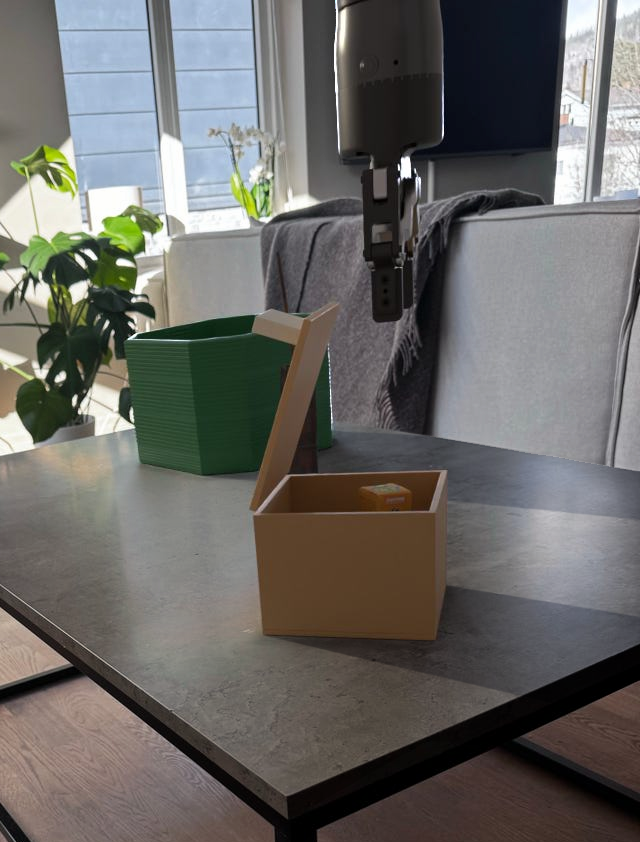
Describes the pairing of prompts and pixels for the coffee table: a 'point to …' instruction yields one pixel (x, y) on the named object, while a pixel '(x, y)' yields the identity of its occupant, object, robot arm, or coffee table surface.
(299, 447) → the butter churn
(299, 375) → the flap
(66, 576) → the coffee table surface
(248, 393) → the planter
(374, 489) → the supplement box
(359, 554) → the carton
